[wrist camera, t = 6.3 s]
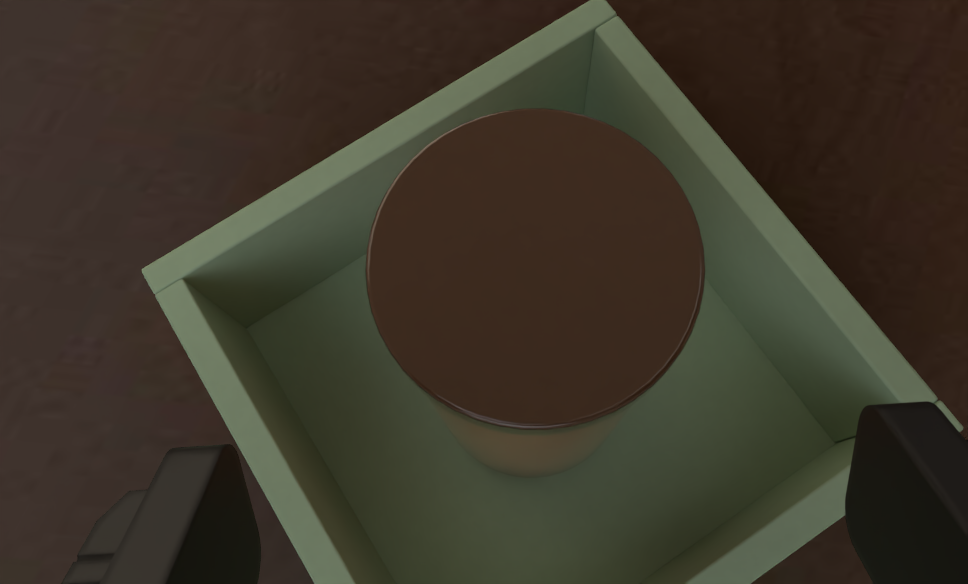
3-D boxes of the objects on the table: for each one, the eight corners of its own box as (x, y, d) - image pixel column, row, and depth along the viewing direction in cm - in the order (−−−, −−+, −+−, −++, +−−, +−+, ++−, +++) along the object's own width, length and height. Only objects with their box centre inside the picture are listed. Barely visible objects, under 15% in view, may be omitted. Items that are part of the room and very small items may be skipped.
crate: (865, 455, 21) (965, 428, 17) (460, 745, 20) (438, 809, 15) (585, 101, 25) (600, -8, 20) (220, 327, 23) (139, 269, 18)
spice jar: (665, 411, 21) (778, 301, 12) (502, 521, 21) (484, 501, 11) (554, 258, 23) (575, 50, 13) (399, 358, 22) (302, 215, 13)
